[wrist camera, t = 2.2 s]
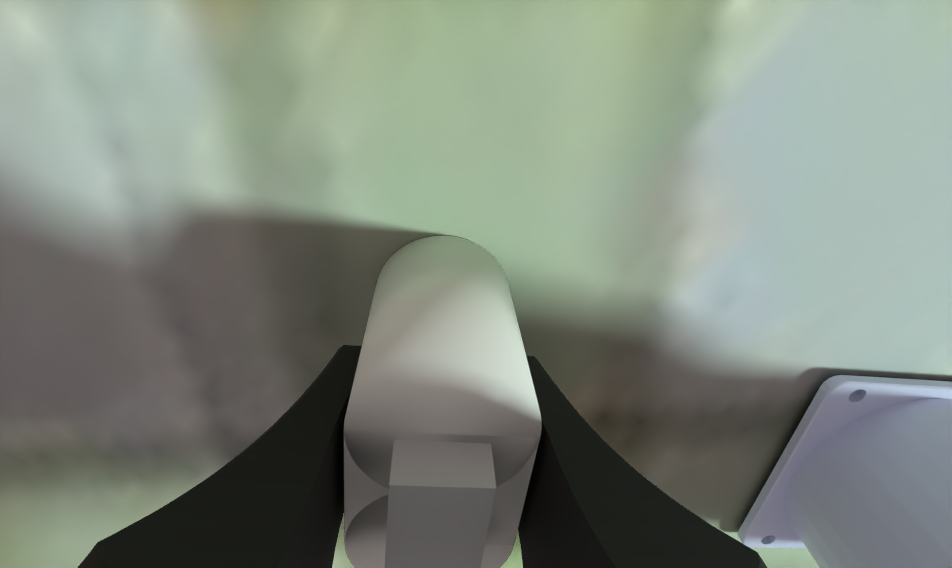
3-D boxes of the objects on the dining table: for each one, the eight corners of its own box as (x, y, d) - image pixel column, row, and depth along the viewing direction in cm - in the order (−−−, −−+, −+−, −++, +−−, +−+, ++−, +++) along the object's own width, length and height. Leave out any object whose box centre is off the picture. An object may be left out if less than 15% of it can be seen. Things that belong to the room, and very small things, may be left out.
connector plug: (518, 241, 13) (572, 400, 8) (485, 435, 16) (506, 640, 11) (377, 229, 12) (331, 388, 7) (371, 430, 16) (336, 641, 10)
